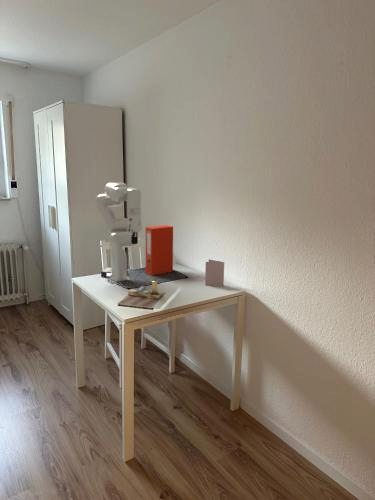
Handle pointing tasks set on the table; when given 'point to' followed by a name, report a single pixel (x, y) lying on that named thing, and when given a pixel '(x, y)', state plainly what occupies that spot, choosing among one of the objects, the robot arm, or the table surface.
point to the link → (144, 293)
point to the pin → (154, 287)
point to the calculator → (107, 270)
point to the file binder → (159, 249)
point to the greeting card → (214, 273)
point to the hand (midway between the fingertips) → (134, 243)
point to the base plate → (139, 301)
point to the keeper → (141, 289)
